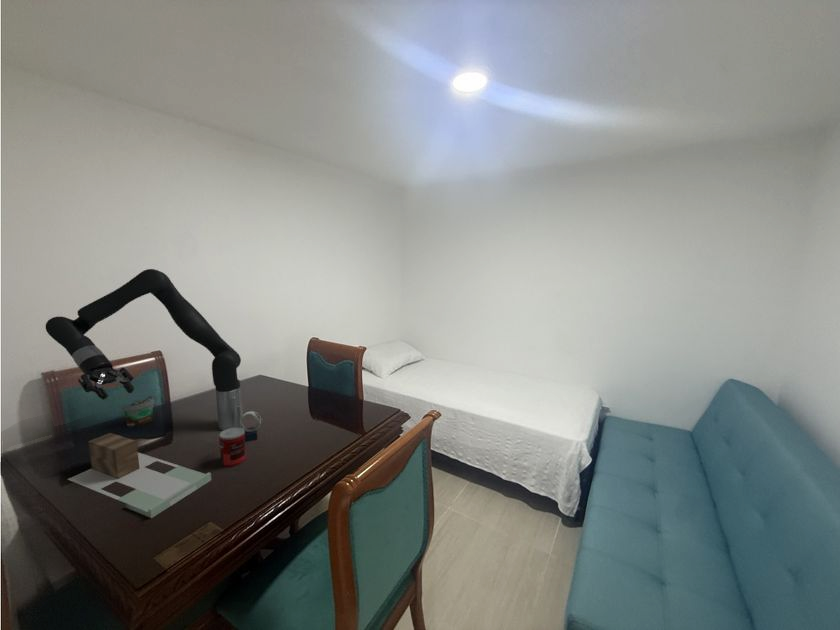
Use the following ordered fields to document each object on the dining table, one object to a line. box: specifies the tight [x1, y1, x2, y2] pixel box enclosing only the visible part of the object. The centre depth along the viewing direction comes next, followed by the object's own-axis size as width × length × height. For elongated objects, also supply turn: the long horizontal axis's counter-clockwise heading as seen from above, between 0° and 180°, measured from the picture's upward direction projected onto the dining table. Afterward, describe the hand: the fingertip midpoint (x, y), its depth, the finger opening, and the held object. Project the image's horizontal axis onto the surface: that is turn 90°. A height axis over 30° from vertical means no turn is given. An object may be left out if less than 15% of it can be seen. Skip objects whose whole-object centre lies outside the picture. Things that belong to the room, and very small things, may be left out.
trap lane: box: [67, 452, 212, 519], centre depth 107 cm, size 40×18×2 cm, turn 70°
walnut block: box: [88, 432, 140, 479], centre depth 111 cm, size 14×6×10 cm, turn 70°
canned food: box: [218, 427, 247, 467], centre depth 119 cm, size 8×8×11 cm
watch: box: [240, 410, 262, 443], centre depth 135 cm, size 6×8×11 cm
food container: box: [121, 395, 155, 427], centre depth 146 cm, size 12×6×10 cm, turn 168°
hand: (119, 394), depth 117 cm, fingers open, 8 cm apart
